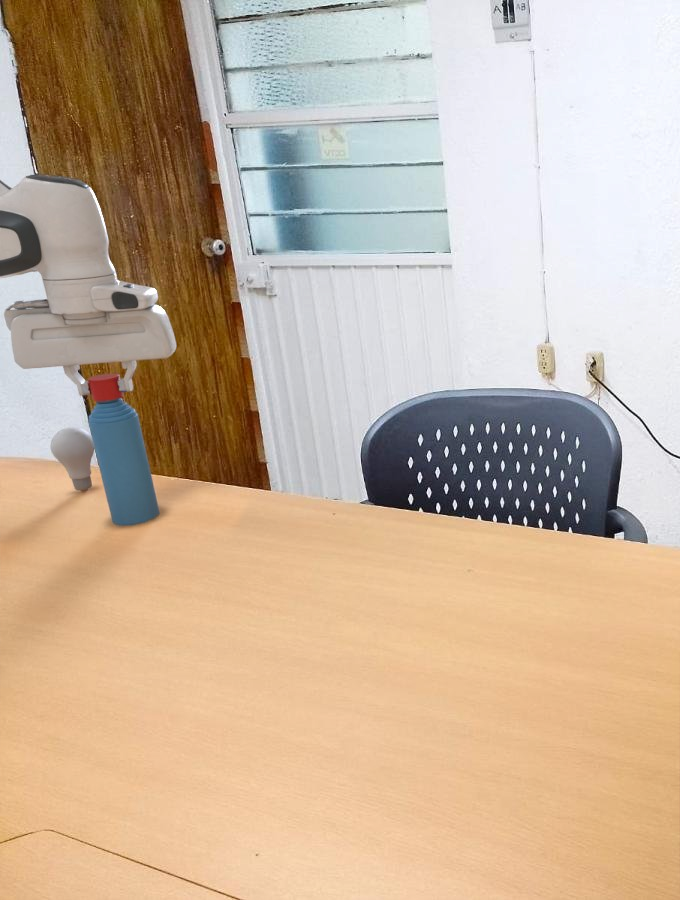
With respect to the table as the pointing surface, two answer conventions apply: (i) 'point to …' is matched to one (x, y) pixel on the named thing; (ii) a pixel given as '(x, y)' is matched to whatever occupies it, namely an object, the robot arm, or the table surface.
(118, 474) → the bottle
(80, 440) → the lightbulb
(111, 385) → the cap
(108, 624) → the table surface
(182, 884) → the table surface
